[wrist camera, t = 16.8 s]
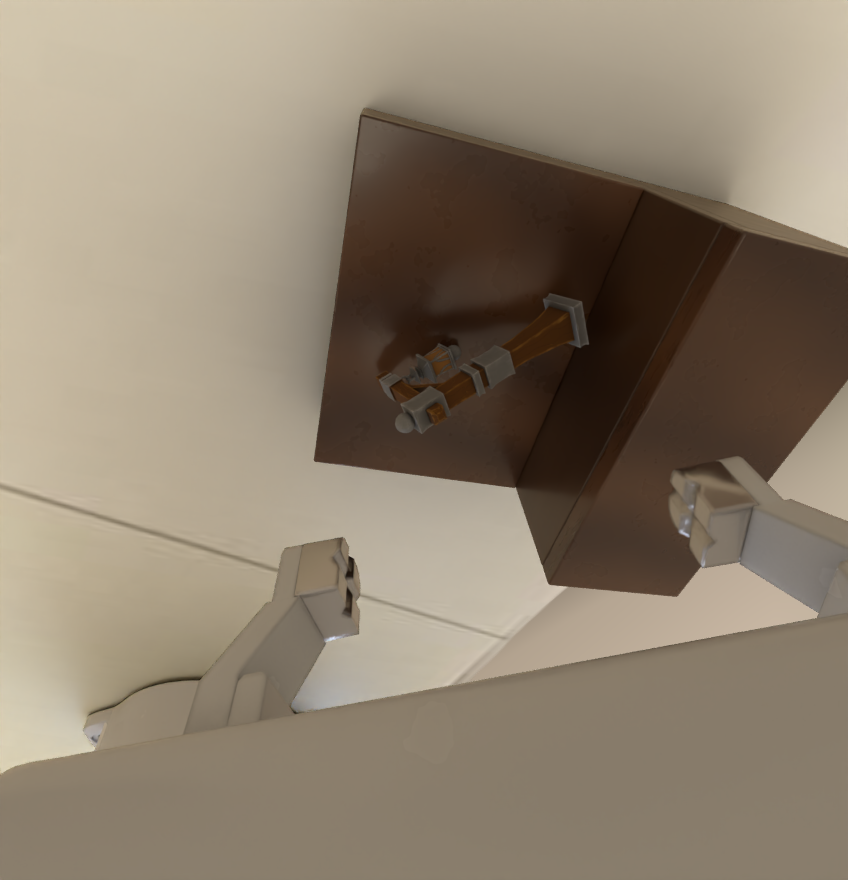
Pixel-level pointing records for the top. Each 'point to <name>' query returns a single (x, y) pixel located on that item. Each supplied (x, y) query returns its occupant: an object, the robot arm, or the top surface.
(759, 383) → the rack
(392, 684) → the top surface
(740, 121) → the top surface
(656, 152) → the top surface
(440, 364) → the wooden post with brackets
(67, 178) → the top surface
